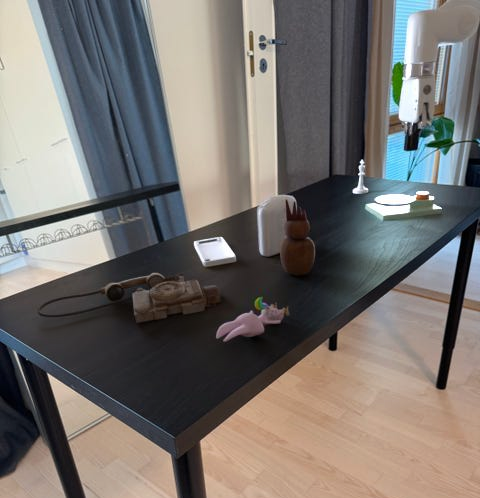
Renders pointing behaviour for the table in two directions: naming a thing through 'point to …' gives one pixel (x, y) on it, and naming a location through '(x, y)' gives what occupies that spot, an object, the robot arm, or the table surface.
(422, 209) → the scale
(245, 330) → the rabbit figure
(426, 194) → the tare button
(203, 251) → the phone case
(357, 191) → the chess piece
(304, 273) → the wooden figurine
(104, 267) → the table surface
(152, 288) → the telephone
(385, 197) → the pan
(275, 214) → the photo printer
